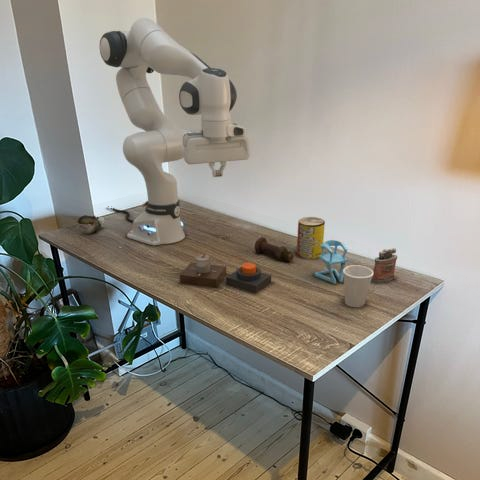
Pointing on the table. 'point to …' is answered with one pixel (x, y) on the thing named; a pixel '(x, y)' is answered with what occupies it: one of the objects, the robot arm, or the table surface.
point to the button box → (248, 280)
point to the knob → (202, 263)
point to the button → (248, 268)
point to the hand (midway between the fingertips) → (217, 176)
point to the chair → (332, 261)
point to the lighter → (384, 266)
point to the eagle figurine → (93, 221)
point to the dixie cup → (356, 284)
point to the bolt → (273, 250)
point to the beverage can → (310, 237)
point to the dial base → (203, 276)
